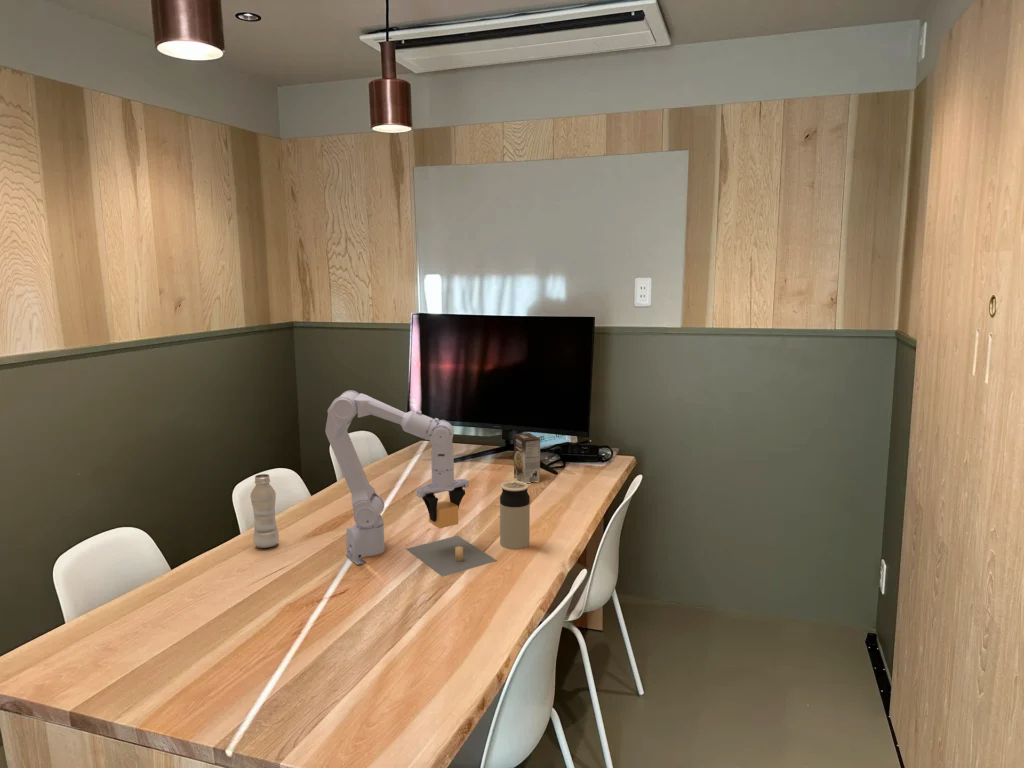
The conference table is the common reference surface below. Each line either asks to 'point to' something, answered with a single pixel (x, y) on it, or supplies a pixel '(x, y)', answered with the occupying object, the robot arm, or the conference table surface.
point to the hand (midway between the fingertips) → (443, 517)
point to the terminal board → (450, 555)
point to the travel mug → (514, 515)
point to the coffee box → (526, 457)
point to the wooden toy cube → (446, 514)
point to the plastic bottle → (264, 512)
